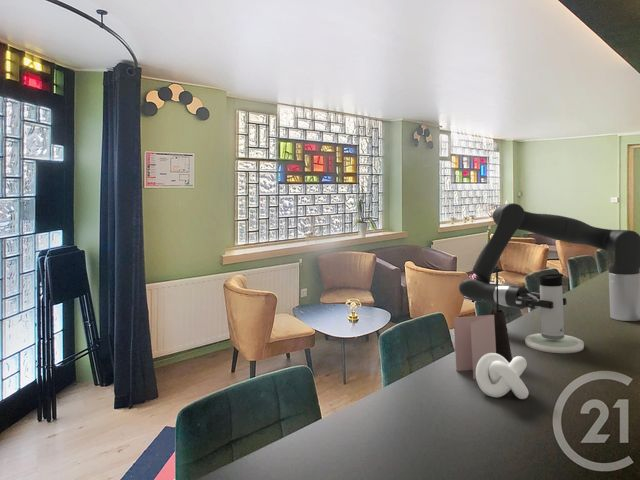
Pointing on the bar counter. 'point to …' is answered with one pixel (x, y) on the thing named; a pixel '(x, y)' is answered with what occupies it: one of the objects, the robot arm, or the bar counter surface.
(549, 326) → the travel mug
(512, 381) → the white decorative knot
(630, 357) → the bar counter surface
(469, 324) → the greeting card
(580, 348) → the plate
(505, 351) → the butter churn
